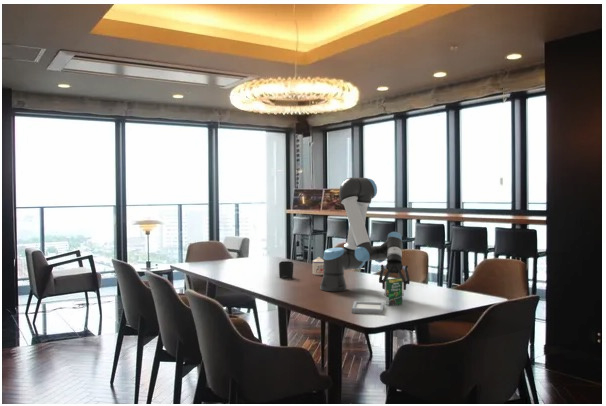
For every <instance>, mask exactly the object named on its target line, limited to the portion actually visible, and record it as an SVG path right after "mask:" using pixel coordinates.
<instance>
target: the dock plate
mask: <svg viewBox="0 0 606 406" xmlns="http://www.w3.org/2000/svg"><path fill="white" fill-rule="evenodd" d="M351 313H352V314H365V315H366V314H367V315H383V314H384V302H383V301H381V302H379V301H363V300H362V301H360V300H357V301H356V300H354V302H353V305H352V307H351Z"/></svg>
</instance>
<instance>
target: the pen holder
mask: <svg viewBox="0 0 606 406" xmlns="http://www.w3.org/2000/svg"><path fill="white" fill-rule="evenodd" d="M278 273H279V278H280V279H293V277H294V262H293V261H289V260H288V261H287V260H285V261H280V262H279V263H278Z"/></svg>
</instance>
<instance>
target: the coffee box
mask: <svg viewBox="0 0 606 406" xmlns="http://www.w3.org/2000/svg"><path fill="white" fill-rule="evenodd" d="M385 305H386V306H389V307H390V306H391V307H392V306H401V305H403V296H402V279H401V278H400V277H395V278H388V279H386V296H385Z"/></svg>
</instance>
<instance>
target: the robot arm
mask: <svg viewBox="0 0 606 406" xmlns="http://www.w3.org/2000/svg"><path fill="white" fill-rule="evenodd" d="M377 187H378V186H377V184H376V183H375V181H374V180H373V179H371V178H367V177H348V178H346V179H344V180H343V181H342V182H341V184H340V187H339V190H338V191H339V200H340V204H342V205H343V207H344V210H345V212H346V216H347V219H348V223H349V228H348V233H347V234H348V235H347V239H346V240H347V241H346V243H345V244H344V245H343V247H331V248H327V249H325V250H324V252H323V258H322V259H323V260H324V275H322V279H321V282H320V285H319V286H320V288H319V289H320V290H322V291H324V292H325V291H326V292H344V291H347V290H348V289H347V288H348V287H347V286H348V285H347V282H346V279H345V276H344V275H345V271H346V270H347V271H348V270H358V269H361V268H362V267H363V266H364V265H365V264H366V262H369V261H375V262H377V263H379V264H380V263H383V262H384V261H386V264H385V265H384V264H381V265H380V273H379V277H378V283H379V284H382V290H384V296H385V297H386V279H389V277H390V275H392V274H397V275H398V278H401V279H402V297H404V294H405V292H404V291H406V290H407V285H410V281H411V280H410V275H409V272H408V271H409V266H408V265H403V260H402V259H403V258H402V257H403V254H402V253H403V252H402V251H403V238H402V234H401V233H399V232H397V231H391V232H389V233H388V234H387V237H386V239H387V240H385V241H384V242H383V243H382V244H381V245H372V244H371V242H370V239H369V238H370V237H369V234H368V231H367V228H366V218H367V212H368V206H369V205H371V203H372V199H374V198H375V197H376V196H377V193H378V188H377ZM386 269H387V272H386V273H385V275H384V272H385V270H386ZM402 270H403V271H404V275H405V277H404V275H403V273H402ZM383 276H384V277H383Z"/></svg>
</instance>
